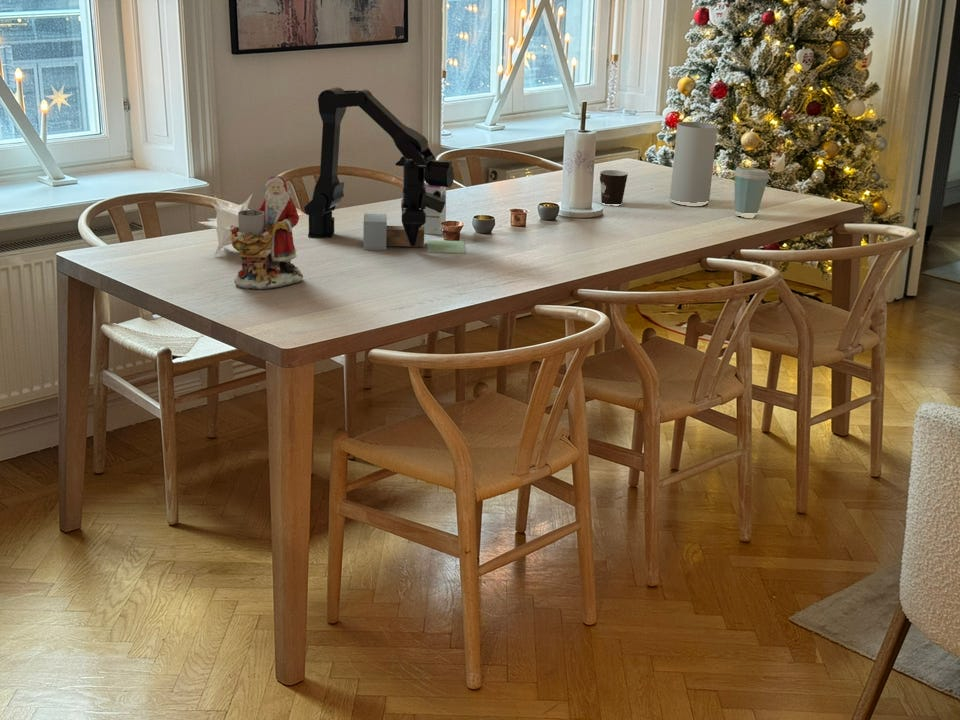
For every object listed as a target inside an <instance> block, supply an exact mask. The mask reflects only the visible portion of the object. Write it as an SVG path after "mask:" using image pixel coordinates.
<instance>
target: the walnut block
mask: <svg viewBox="0 0 960 720" xmlns="http://www.w3.org/2000/svg"><path fill="white" fill-rule="evenodd" d="M386 247H412V246H411V245H410V242H409V240H408V237H407V234H406V232H405V229H404V227H403V225H387V232H386ZM414 247H419V248H420V247H421V248H424V247H425V233H424V226H421V227H420V228H419V231H418V235H417V239H416V243H415V246H414Z"/></svg>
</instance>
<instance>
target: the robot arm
mask: <svg viewBox="0 0 960 720" xmlns="http://www.w3.org/2000/svg"><path fill="white" fill-rule="evenodd" d="M317 106H318V112H319V116H320V119H321V122H322V128H321V129H322V130H321V131H322V133H321V149H320V151H321V152H320V162H319V163H320V167H319V176H318V179H317V180H316V183H315V185H314V188H313V194H312V199H311V200H310V201H309V202H308V203H307V204H306V205H305V206H304V207H303V209H304V212H305V214H306V216H308V234H307V237H308V238H333V235H334V234H335V217H334V216H333V211H335V210H336V207H337V206H338V204H339V203H341V202H342V198H344V197H345V194H344V187H345V182H344V181H340V179H339V177H338V168H339V165H338V164H339V153H340V150H339V148H340V135H341V134H340V133H341V124H342V120H343V118H344V117H345V114H346V111H347V108H351V107H359V108H360V109H361V110H362V111H363V112H364V113H366V115H367V116H369V118H370V119H372V120H373V122H375V123H376V124H377V125H378V126H379V127H380V128H382V130H383V131H384V132H385V133H386V134H387V135H389V136H390V138H391V140H393V142H394V145H395V147H396V148H397V149H398V151H399V152H400V154H401V155H402V156H401V157H400V158H399V160H398V161H397V162H395V163H394V165H395V166H396V167H403V168H402V199H401V201H400V202H401V203H400V209H401V224H402V226H403V227H404V229H405V232H406V234H407V237H408V240H409V242H410V245H411V246H410V247H416V246H415V243H416V239H417V235H418V231H419V228H420V227H421V226H422V225H424V224H425V223H426V213H425V212H424V209H425V208H426V207H428V208H430V209H433V210H435V211H437V212H439V213H442V211H443V208H444V206H445V203H446V204H447V202H446V201H447V199H446V200H445V199H444V198H443V197H441V192H440V191H437V190H435V191H434V192H433V193H432V194H431V193H428V192H426V188H425V182H426V183H428V185H431V186H440V187H446V188H451V187H452V186H453V184H454V178H455V172H454V168H453V165H452V161H451V160H439V159H437V158H436V157H435V154H434V153H433V151H431V148H430V147H429V142H428V138H426V137H425V136H424V135H423V134H421V133H420V132H419V131H416V130H415V129H414V128H411V127H409V126H407V125H405V124H404V123H402V121H400V120H399V119H398V118H397V117H396V116H395V115H394V114H393V113H392V112H391V111H390V110H389V109H388V108H387V107H386V106H385V105H384V104H383V103H381V102H380V101H379V100H378V99H377V98H376V97H375V96H374V95H373V94H372V92H371V91H369V90H368V89H361V90H360V89H359V90H357V89H356V90H355V89H352V90H351V89H350V90H344V89H343V88H341V87H338V86H336V87H331V88H329V89H325V90H323V91H321V92H320V93H319V95H318V97H317Z"/></svg>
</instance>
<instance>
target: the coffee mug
mask: <svg viewBox="0 0 960 720" xmlns="http://www.w3.org/2000/svg"><path fill="white" fill-rule="evenodd" d="M628 175H629V174H628V172H627V171H623V170H616V169H614V170H612V169H605V170H602V171H600V175H599V182H600V196H601V197H600V200H601V202H602V203H605V204H621V203H622V204H623V200H624V197H625V189H626V184H627V181H628ZM601 202H600V203H601Z"/></svg>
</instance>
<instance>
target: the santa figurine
mask: <svg viewBox="0 0 960 720" xmlns="http://www.w3.org/2000/svg"><path fill="white" fill-rule="evenodd" d="M264 187H265V188H266V189H267V190H266V191H265V193H264V199H263V201H262V203H261V204H260V206H259V207H258V208H256V209H248V210H243V211H240V212H238V226H239V227H233V226H231V232H232V233H231V235H230V238H231V240H232V244H231V246H232V247H233V249H235V251H237V252H239V257H240V258H241V269H240V270H239V271H238V272H237V275H236V276H235V277H234V278H233V281H234V282H233V283H234V284H235V285H236V286H237V285H238V286H237V287H239V288H241V287H243V288H242V289H245V288H246V289H248V290H267V289H273V288H274V289H275V288H280V287H284V286H289V285H293V284H297V283H300V282H302V281H303V279H304V275H303V273H302V272H301V270H300V269H299V268H298V267H297V266H296V265H295V264H294V263H291V261H292V260H294V259H296V258H297V249H296V247H295V244H294V238H293V237H294V236H293V228H294V227H296V226H297V225H298V223H299V220H300V216H299V213H298V210H297V207H296V205H295V203H294V201H293V199H292V198H291V197H290V196H291V193H292V192H291V191H290V190H289V189H288V187H287V183H286V181H285V179H284V178H283V177H282V176H279V175H273V176H271V177H269V178H268V179H267V182H266V183H265V185H264ZM249 288H250V289H249ZM251 288H252V289H251Z"/></svg>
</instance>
